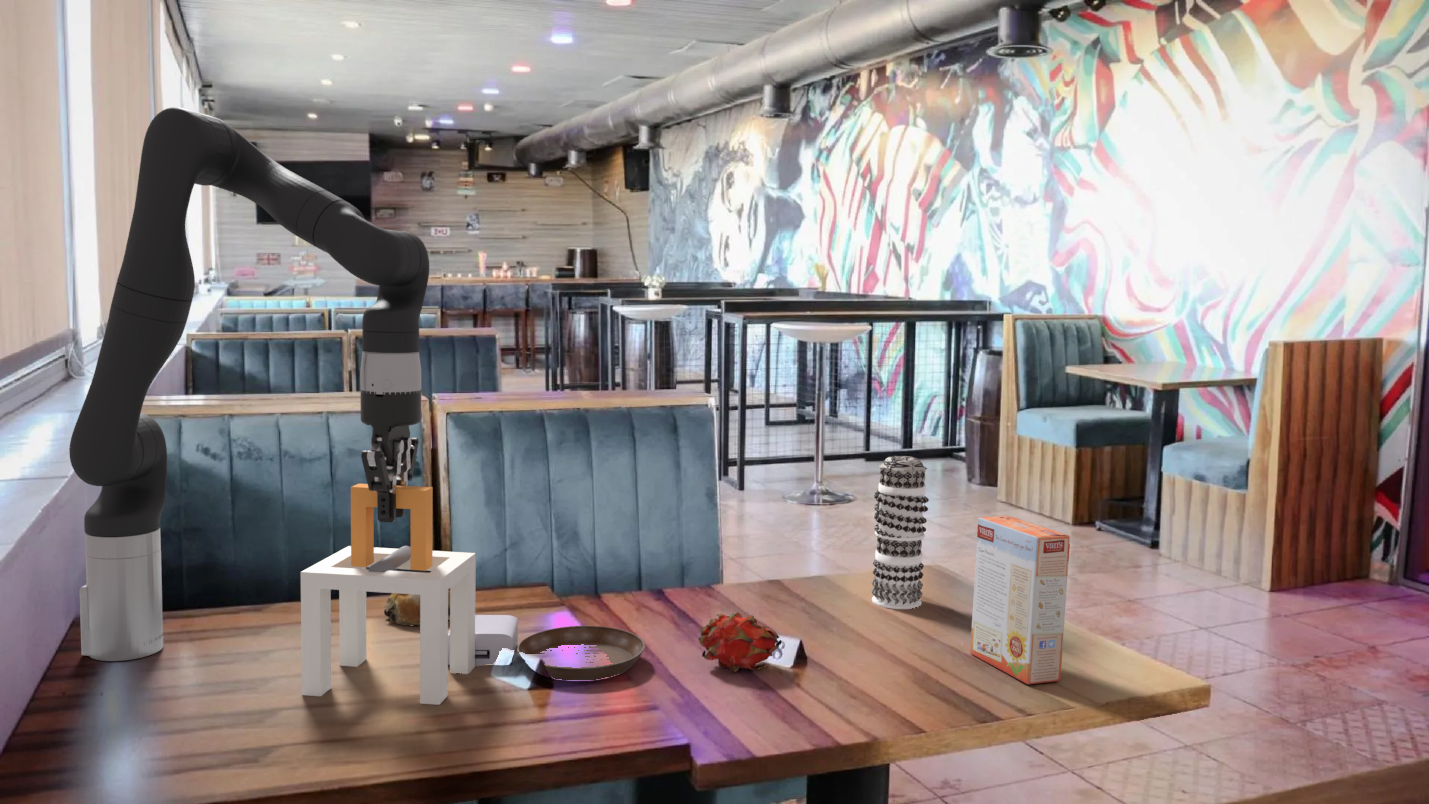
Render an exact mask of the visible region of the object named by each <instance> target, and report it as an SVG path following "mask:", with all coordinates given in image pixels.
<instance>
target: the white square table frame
mask: <svg viewBox="0 0 1429 804" xmlns="http://www.w3.org/2000/svg"><path fill="white" fill-rule="evenodd" d="M476 559H477V558H476V552H463V551H446V550H432V566H431V567H430V568H429V569H427V570H426V571H428V572H426V571H424V572H423V571H412V570H411V546H408V545H403V546H401V547H399V548H395V547H393V548H391V547H390V548H389V547H377V546H376V547H375V546H374V563H372V564H370V565H369V566H367V567H353V566H351V545H348V546H346V547H344V548H342V549H340V550H339V551H337V552H335V553H333V554H331V555H330V556H328V557H325V558H323V559H322V560H320V561H318V562H316V563H314V564H313V565H311V566H309V567H307V568H305V569H304V570H302V571H300V632H301V634H300V636H301V637H300V639H301V641H300V643H301V646H300V647H301V648H300V649H301V652H300V653H301V696H307V697H308V696H310V697H322V696H323V695H324V694H326V693H327V692H328V691H330V690H331V689H332V615H331V613H332V612H331V610H332V608H331V607H332V605H331V604H332V602H331V601H332V599H331V597H332V596H331V594H332V593H331V592H332V590H335V591H336V590H337V591H339V593H338V595H339V597H338V599H339V601H338V602H339V610H338V611H339V666H341V667H355V668H358V667H359V666H360V665H362V664H363V663H364V662H365V661H367V592H369V593H370V592H371V593H382V594H383V593H386V594H392V593H400V594H416V595H420V625H419V651H420V653H419V679H420V680H419V704H421V705H422V704H423V705H438V706H440V705H441V704H442V703H443V702H444V701H445V700H446V698H447V697H448V696H449V695H448V683H449V681H448V680H449V679H448V676H449V674H448V673H450V672H452V673H451V674H456V673H460V674H461V673H462V674H461V675H469V674H470V672H472V670H473V669H474V668H475V667H476V666H475V615H476V570H477V569H476V568H477V567H476V566H477V565H476V563H477V562H476V561H477V560H476ZM402 570H403V571H402ZM405 570H408V571H405ZM410 570H411V571H410ZM429 571H430V572H429ZM448 590H449V591H450V620H449V621H448ZM449 629H450V666H449V665H448V632H449ZM448 666H449V667H448ZM474 666H475V667H474ZM473 667H474V668H473ZM472 668H473V669H472ZM453 672H454V673H453ZM468 673H469V674H468ZM460 674H459V675H460Z"/></svg>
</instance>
